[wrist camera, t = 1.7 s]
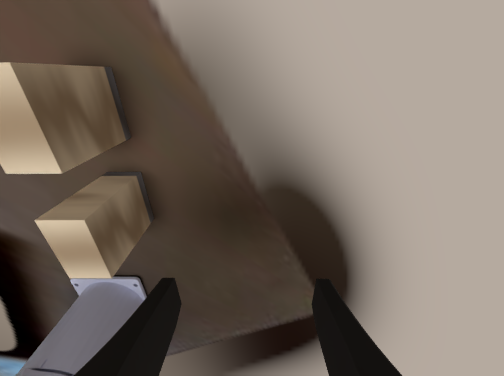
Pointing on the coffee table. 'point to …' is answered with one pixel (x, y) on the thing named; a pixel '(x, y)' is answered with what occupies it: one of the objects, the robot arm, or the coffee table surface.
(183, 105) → the coffee table surface
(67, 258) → the beech tile
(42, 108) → the beech tile
